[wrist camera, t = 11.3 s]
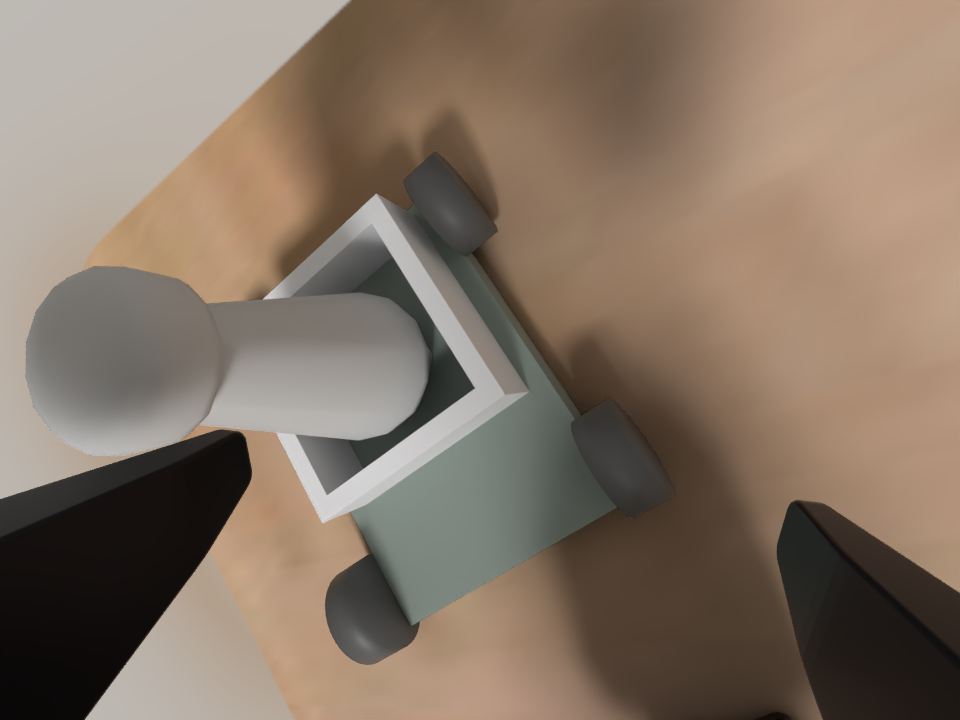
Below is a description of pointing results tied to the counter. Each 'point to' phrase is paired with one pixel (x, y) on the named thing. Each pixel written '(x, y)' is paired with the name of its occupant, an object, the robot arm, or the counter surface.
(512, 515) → the toy wheeled cart
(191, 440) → the robot arm
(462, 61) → the counter surface
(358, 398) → the salt shaker
